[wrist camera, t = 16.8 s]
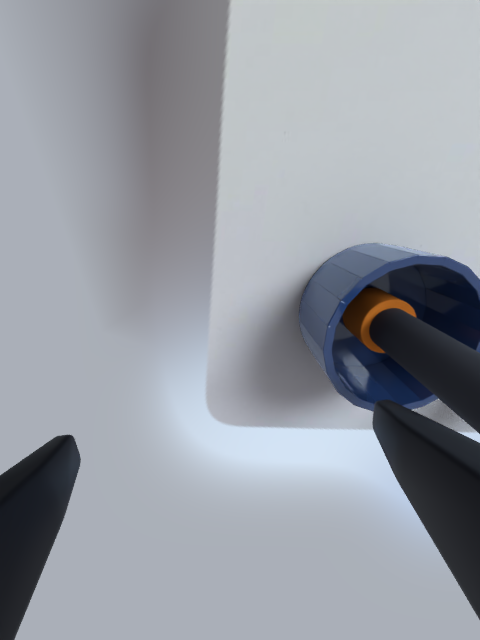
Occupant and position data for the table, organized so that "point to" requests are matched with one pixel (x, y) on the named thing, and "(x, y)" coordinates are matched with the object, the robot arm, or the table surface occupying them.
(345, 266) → the blue plastic pot
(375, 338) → the scrub stick
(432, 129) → the table surface
